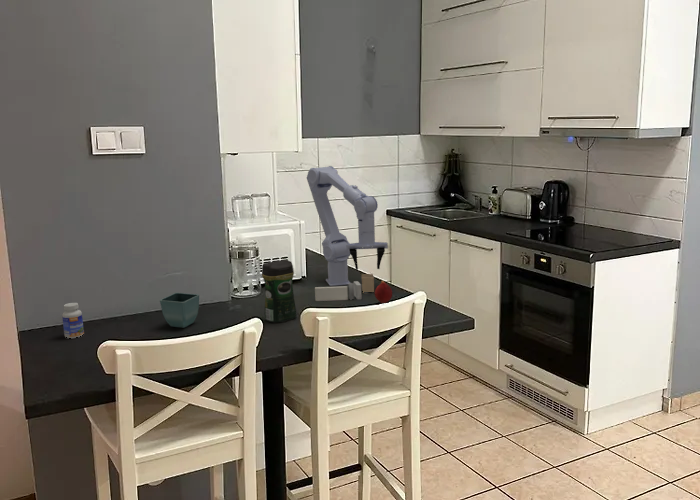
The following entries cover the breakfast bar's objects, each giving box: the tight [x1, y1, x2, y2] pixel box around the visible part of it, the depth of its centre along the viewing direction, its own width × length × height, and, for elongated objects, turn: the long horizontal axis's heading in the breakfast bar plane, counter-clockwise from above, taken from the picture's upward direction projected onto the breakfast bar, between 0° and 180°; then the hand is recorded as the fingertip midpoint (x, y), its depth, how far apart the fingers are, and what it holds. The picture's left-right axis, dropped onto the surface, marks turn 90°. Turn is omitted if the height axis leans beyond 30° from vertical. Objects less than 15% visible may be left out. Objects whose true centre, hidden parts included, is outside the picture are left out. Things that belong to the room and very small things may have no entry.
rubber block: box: [361, 273, 375, 294], centre depth 235 cm, size 6×4×6 cm, turn 2°
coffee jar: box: [261, 259, 297, 323], centre depth 204 cm, size 10×8×19 cm
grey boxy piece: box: [347, 280, 362, 301], centre depth 226 cm, size 5×4×6 cm
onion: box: [374, 280, 393, 304], centre depth 217 cm, size 6×6×8 cm
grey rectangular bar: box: [314, 285, 349, 302], centre depth 225 cm, size 11×2×4 cm, turn 92°
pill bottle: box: [61, 302, 85, 339], centre depth 194 cm, size 5×5×10 cm
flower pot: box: [159, 292, 200, 329], centre depth 201 cm, size 9×9×9 cm
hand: (367, 268), depth 234 cm, fingers open, 7 cm apart
